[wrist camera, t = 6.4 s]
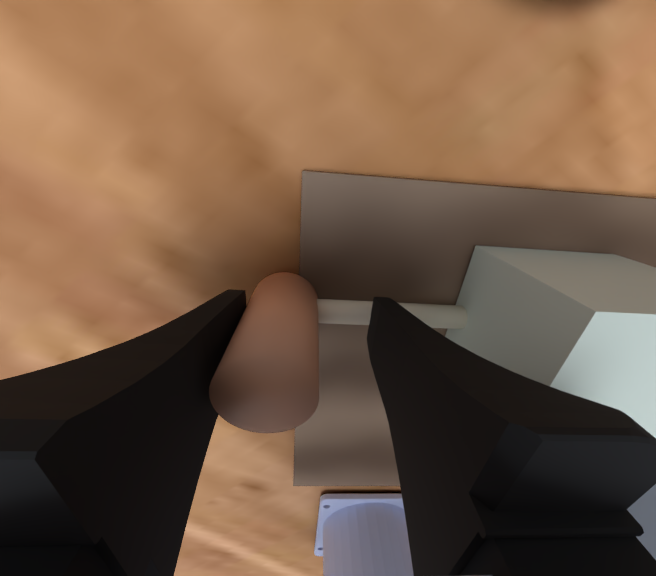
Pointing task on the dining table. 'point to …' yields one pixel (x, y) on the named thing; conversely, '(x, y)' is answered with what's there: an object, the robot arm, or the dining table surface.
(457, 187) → the shelf
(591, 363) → the sage cube mallet
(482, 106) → the dining table surface
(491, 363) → the robot arm
